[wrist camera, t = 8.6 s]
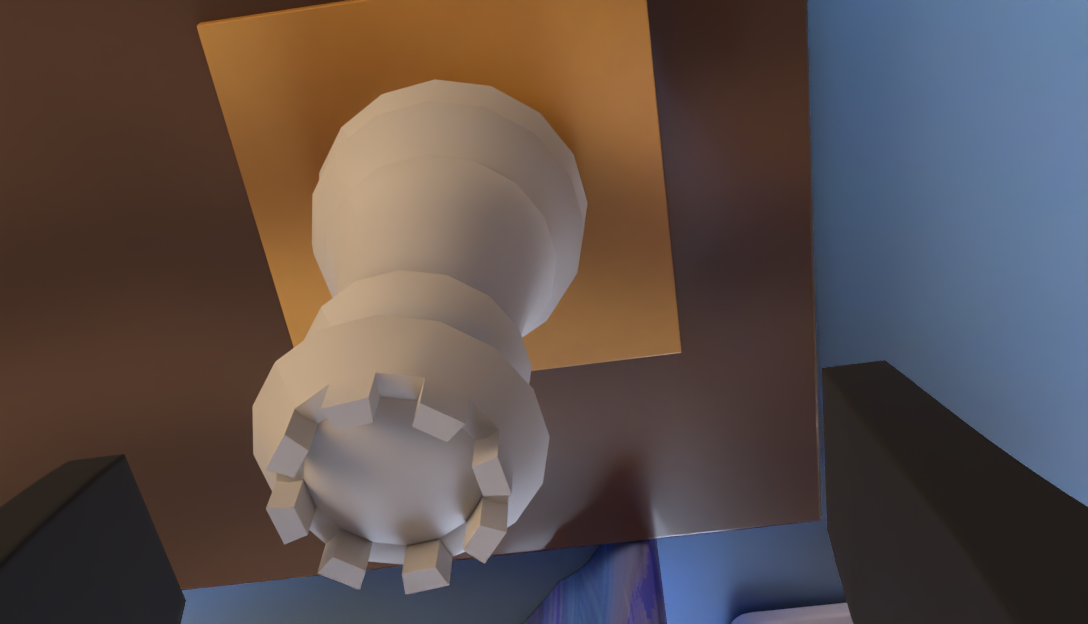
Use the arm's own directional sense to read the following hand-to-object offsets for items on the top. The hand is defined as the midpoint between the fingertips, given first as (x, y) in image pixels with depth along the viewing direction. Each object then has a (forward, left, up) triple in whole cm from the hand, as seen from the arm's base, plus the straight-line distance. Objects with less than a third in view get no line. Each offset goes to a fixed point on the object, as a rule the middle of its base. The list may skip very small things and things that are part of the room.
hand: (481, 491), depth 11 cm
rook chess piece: (0, +1, -8) cm, 8 cm away
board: (-1, +5, -9) cm, 10 cm away
